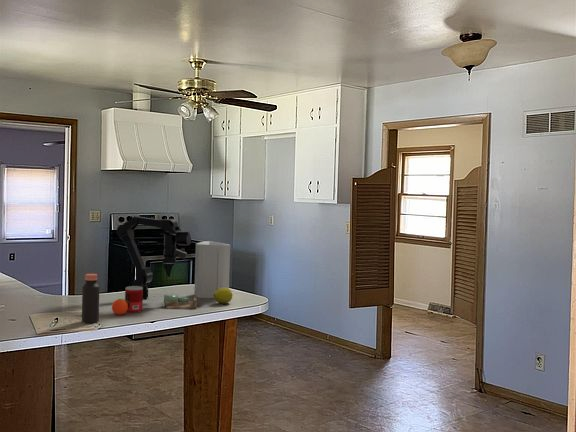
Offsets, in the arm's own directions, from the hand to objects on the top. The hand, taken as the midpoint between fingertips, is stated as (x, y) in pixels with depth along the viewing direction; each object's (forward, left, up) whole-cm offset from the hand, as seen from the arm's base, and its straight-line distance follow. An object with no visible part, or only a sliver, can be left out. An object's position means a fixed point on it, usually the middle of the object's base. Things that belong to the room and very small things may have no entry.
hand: (169, 275), depth 300 cm
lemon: (+27, -6, -13) cm, 31 cm away
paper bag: (+20, +14, -13) cm, 28 cm away
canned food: (-15, -24, -13) cm, 31 cm away
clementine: (-20, -31, -13) cm, 39 cm away
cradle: (+6, -12, -13) cm, 19 cm away
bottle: (-2, -13, -10) cm, 17 cm away
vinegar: (-31, -45, -13) cm, 56 cm away
